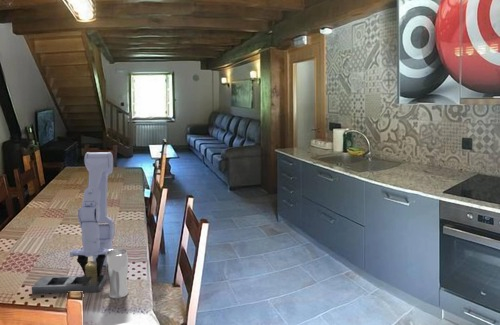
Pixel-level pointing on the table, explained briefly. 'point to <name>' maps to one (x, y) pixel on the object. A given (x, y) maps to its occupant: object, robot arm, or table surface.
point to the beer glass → (117, 272)
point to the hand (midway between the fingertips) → (93, 274)
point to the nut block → (91, 268)
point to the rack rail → (68, 284)
